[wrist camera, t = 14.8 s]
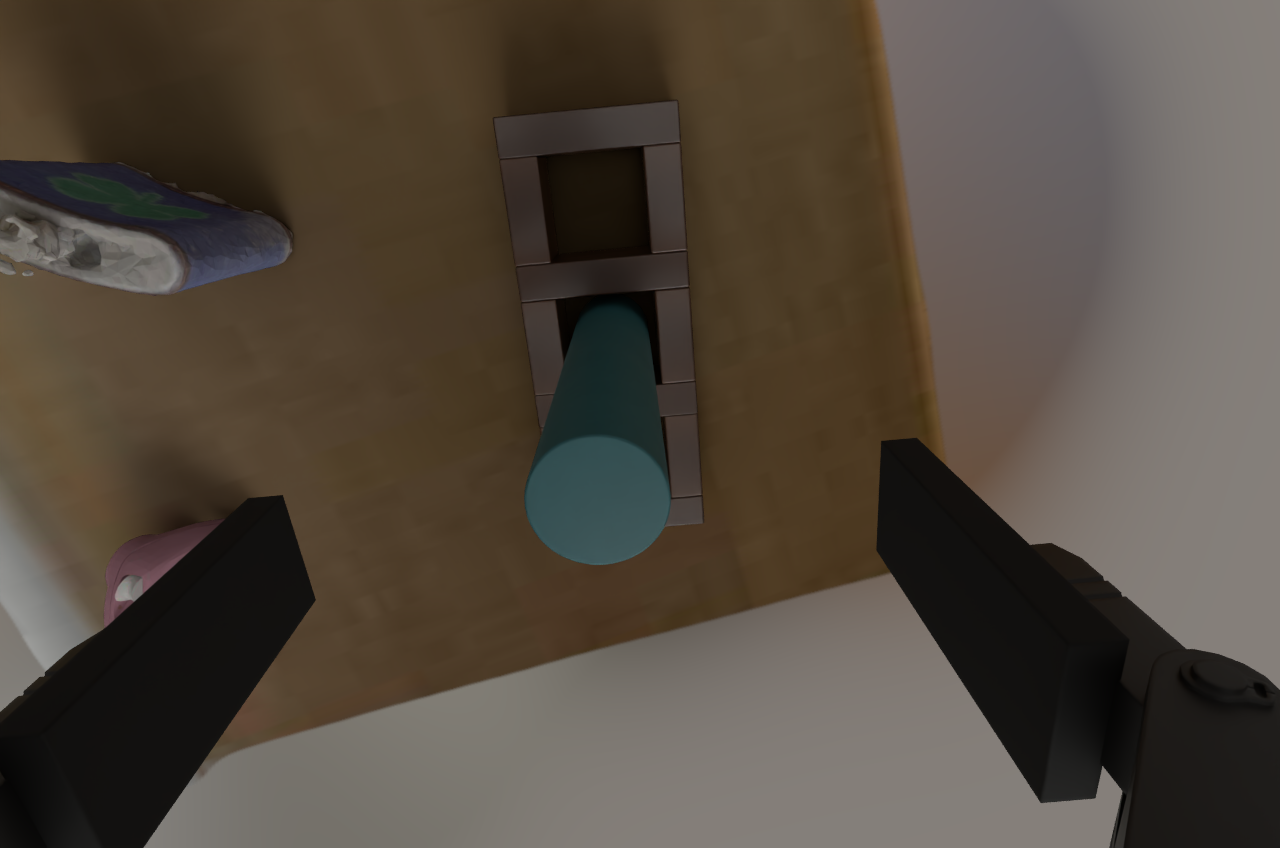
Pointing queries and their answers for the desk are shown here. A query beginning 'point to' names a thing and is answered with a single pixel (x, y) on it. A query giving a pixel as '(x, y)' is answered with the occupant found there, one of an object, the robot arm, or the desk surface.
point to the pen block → (608, 263)
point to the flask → (128, 228)
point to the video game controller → (147, 563)
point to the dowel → (602, 443)
